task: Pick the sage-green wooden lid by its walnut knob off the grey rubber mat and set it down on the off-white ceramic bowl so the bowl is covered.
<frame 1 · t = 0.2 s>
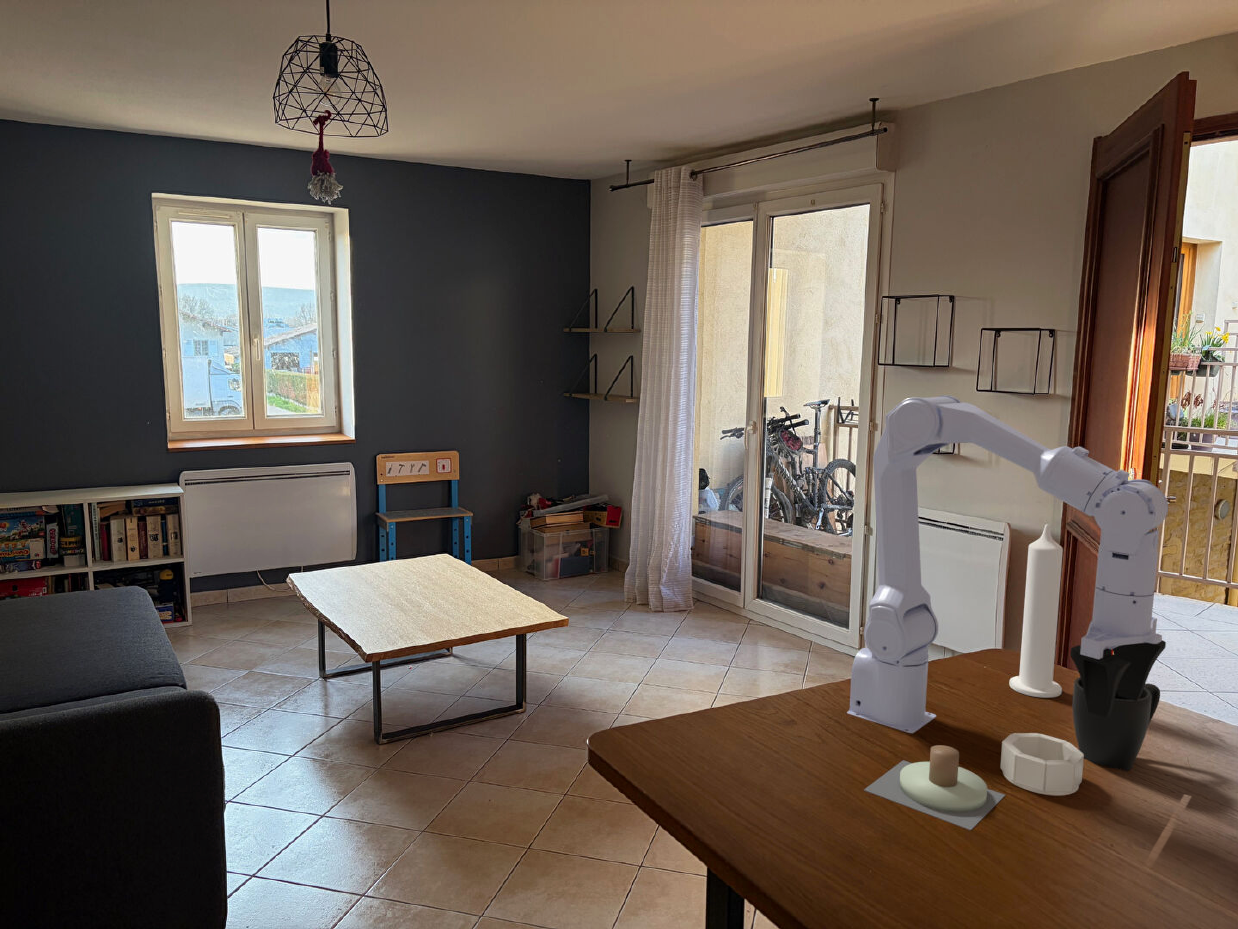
hand: (1113, 705, 99), 10 cm above the table, fingers open, 7 cm apart
bowl: (1039, 782, 102), on the table
mat: (934, 797, 98), on the table
lid: (942, 790, 98), point 1 cm above the table, touching mat
mug: (1117, 761, 108), on the table
candle: (1035, 690, 130), on the table
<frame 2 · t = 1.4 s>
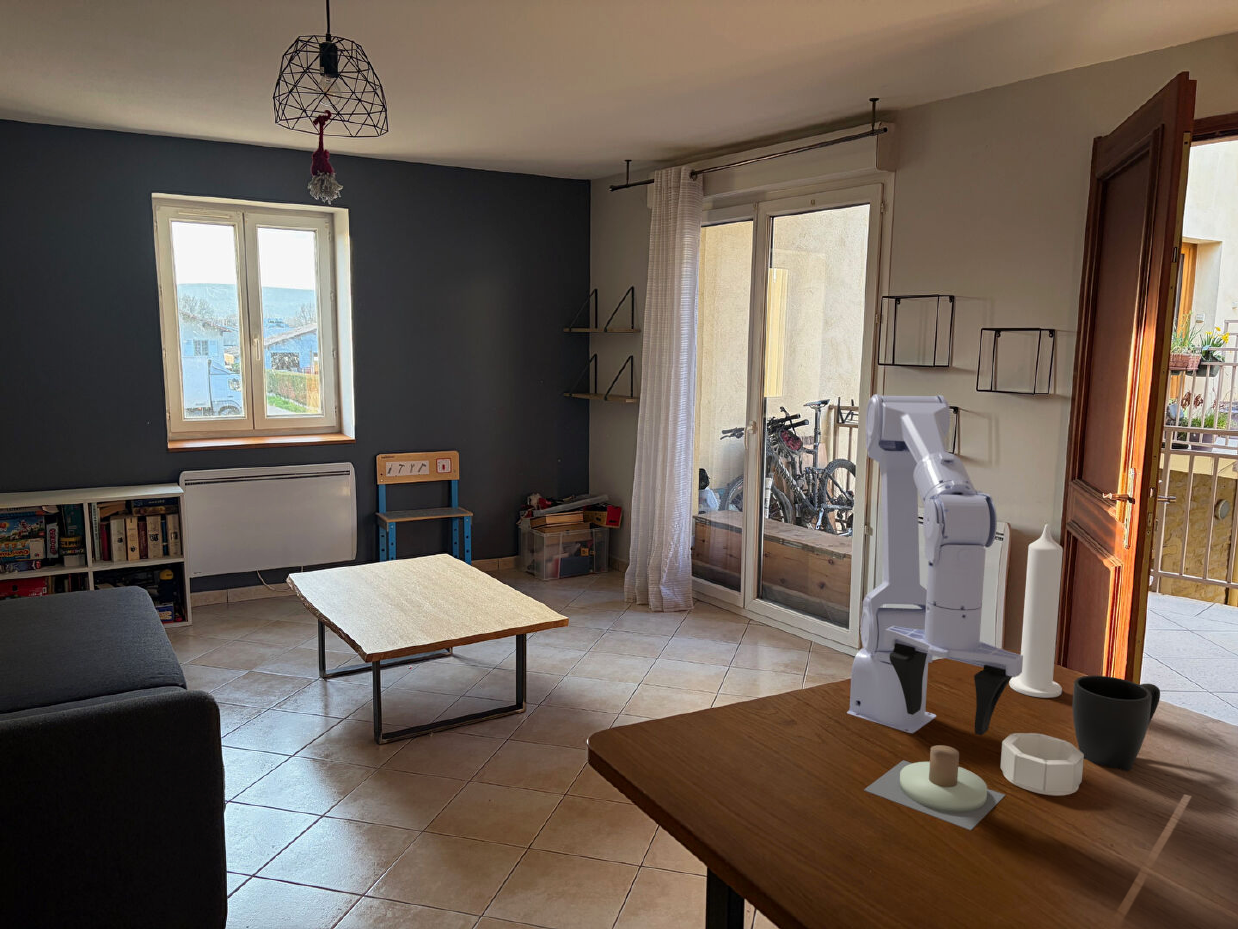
hand: (946, 721, 97), 9 cm above the table, fingers open, 7 cm apart
nothing on the table moved.
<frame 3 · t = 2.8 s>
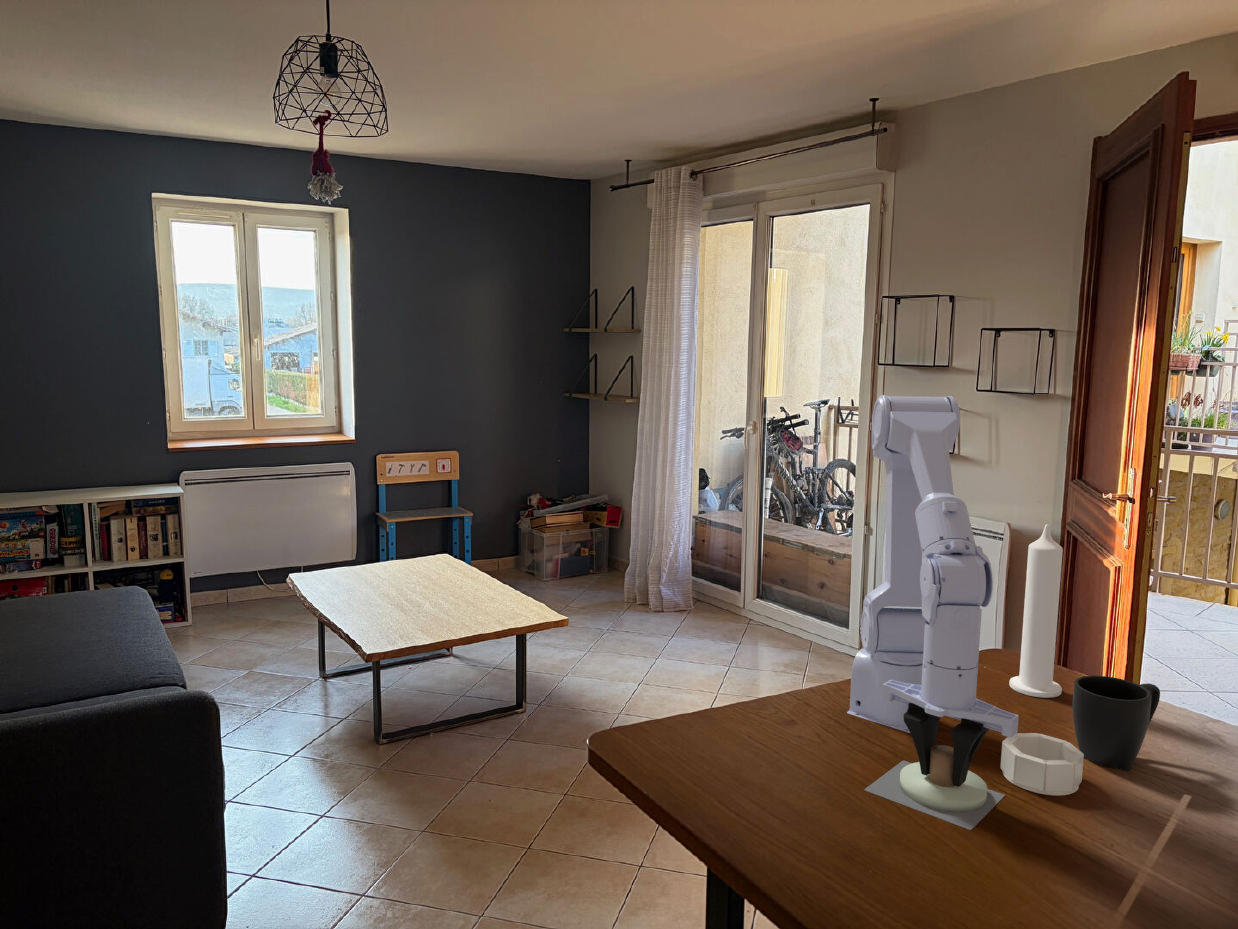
hand: (943, 777, 98), 2 cm above the table, fingers closed on lid, 3 cm apart
lid: (942, 790, 98), point 1 cm above the table, touching gripper, mat
everything else where it was.
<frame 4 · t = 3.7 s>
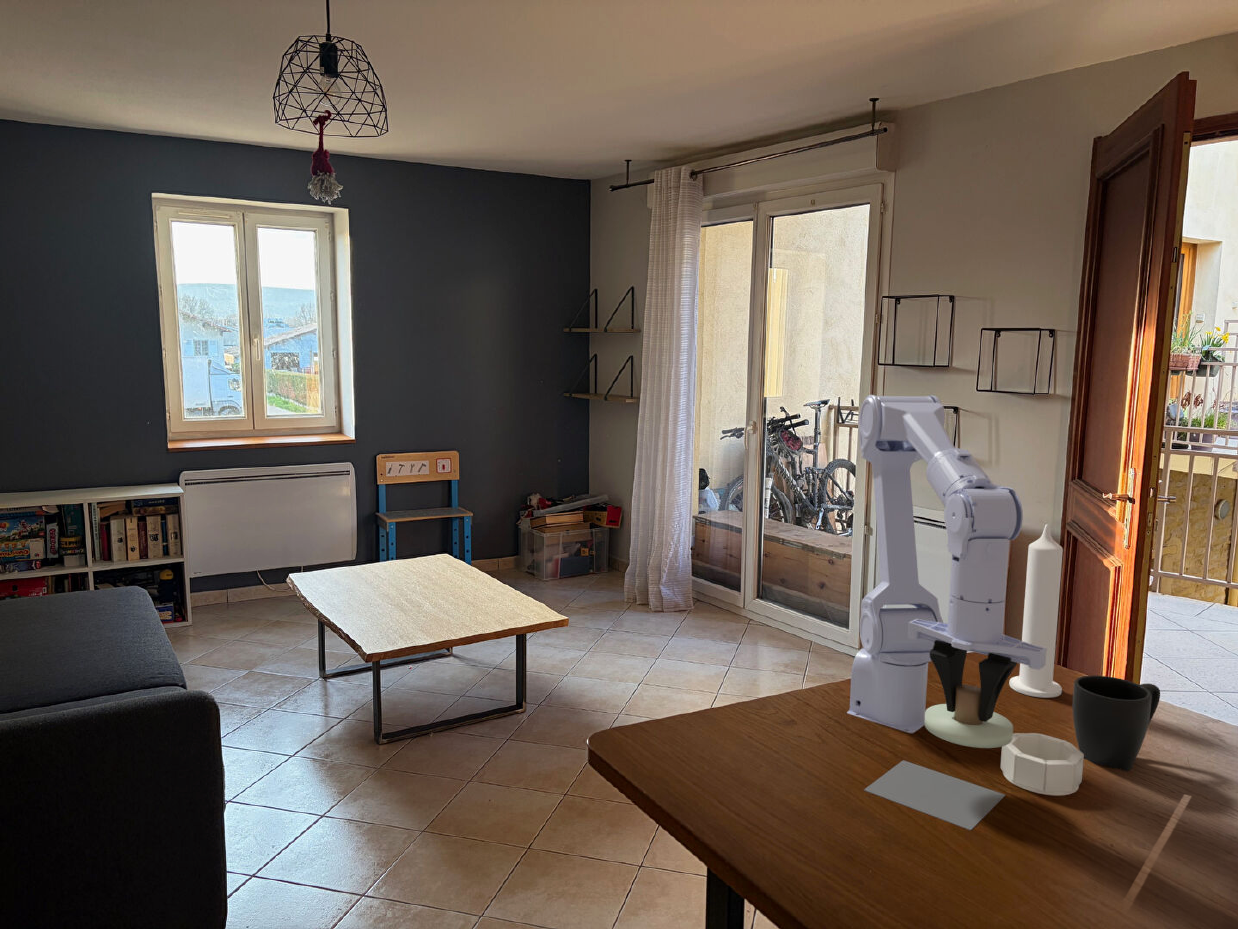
hand: (969, 713, 98), 9 cm above the table, fingers closed on lid, 3 cm apart
lid: (967, 730, 98), point 8 cm above the table, touching gripper
everything else where it was.
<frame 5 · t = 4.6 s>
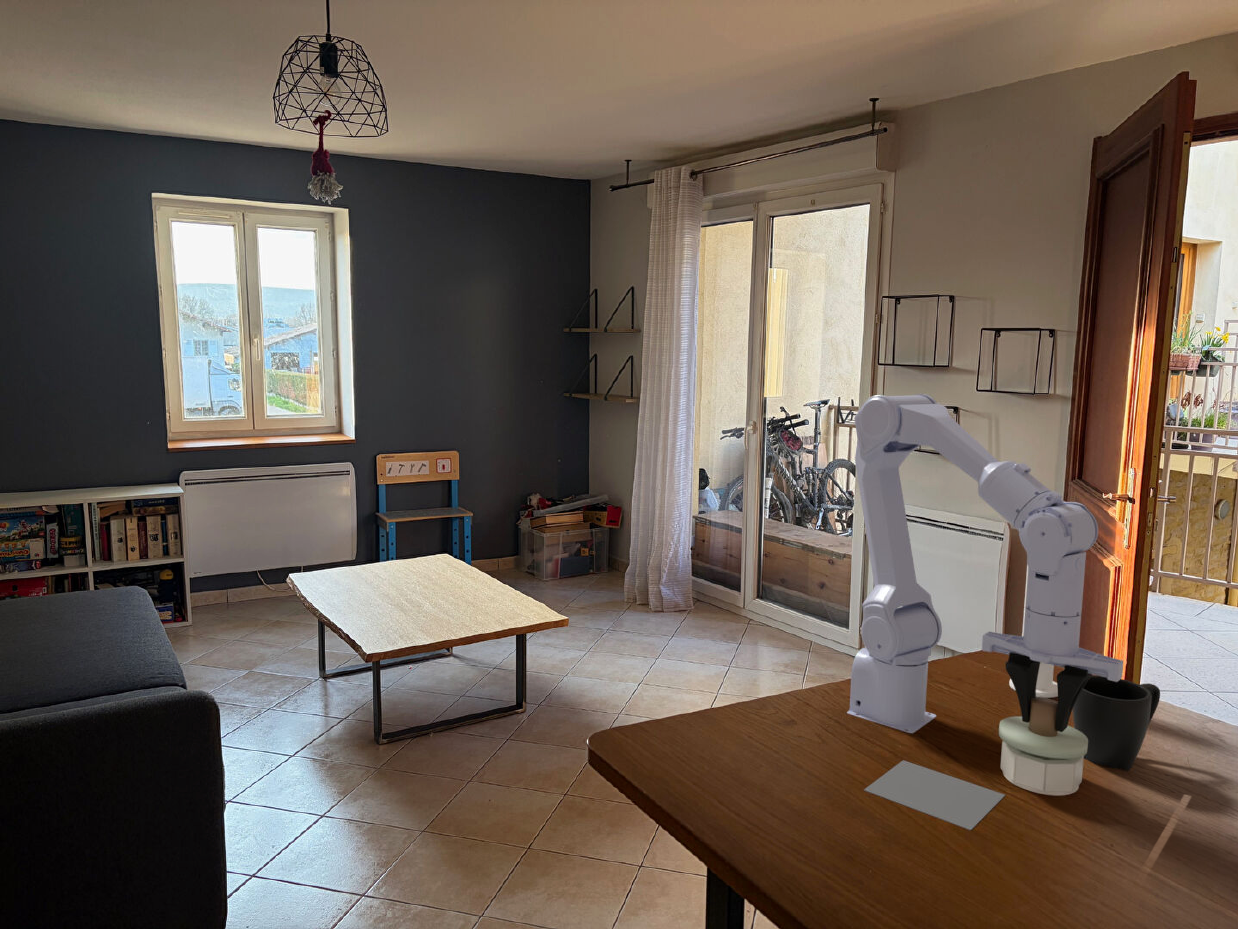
hand: (1044, 724, 101), 7 cm above the table, fingers closed on lid, 3 cm apart
lid: (1042, 741, 101), point 5 cm above the table, touching gripper
everything else where it was.
when the fingers open (7 cm above the table, at t = 5.0 s): lid stays where it is, resting on bowl.
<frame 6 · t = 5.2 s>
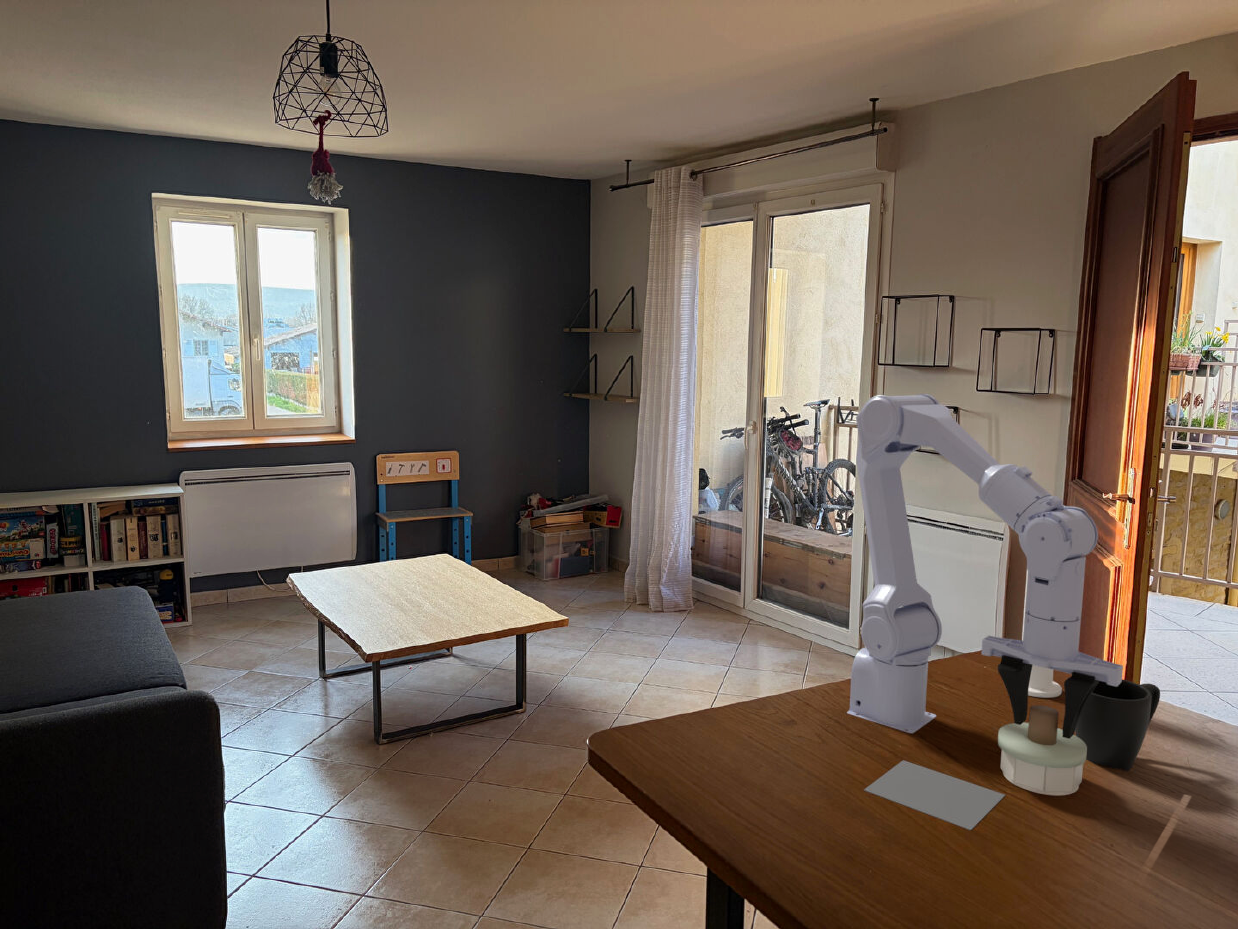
hand: (1043, 728, 101), 7 cm above the table, fingers open, 5 cm apart
lid: (1041, 749, 101), point 4 cm above the table, touching bowl
everything else where it was.
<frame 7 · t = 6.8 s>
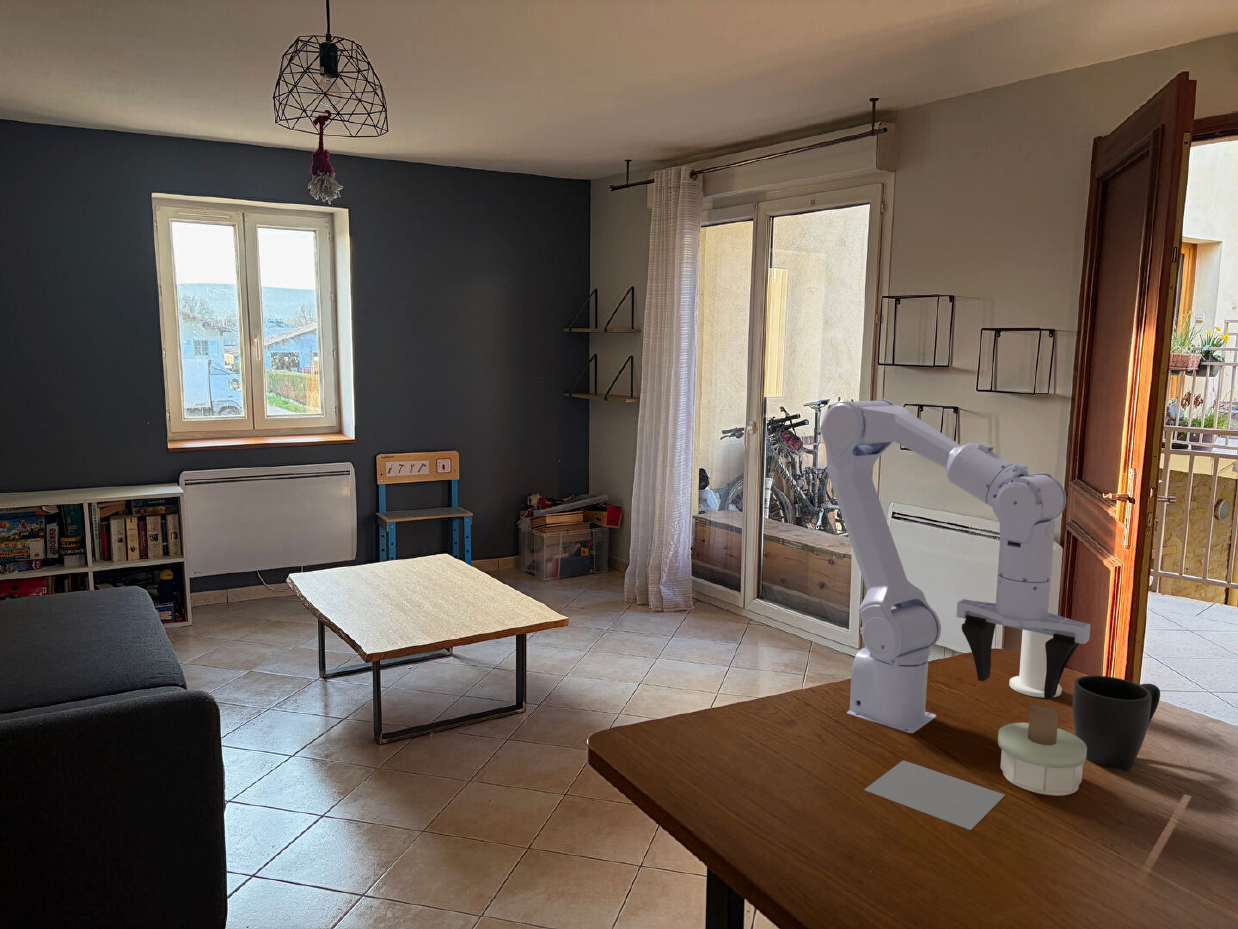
hand: (1015, 687, 105), 10 cm above the table, fingers open, 7 cm apart
nothing on the table moved.
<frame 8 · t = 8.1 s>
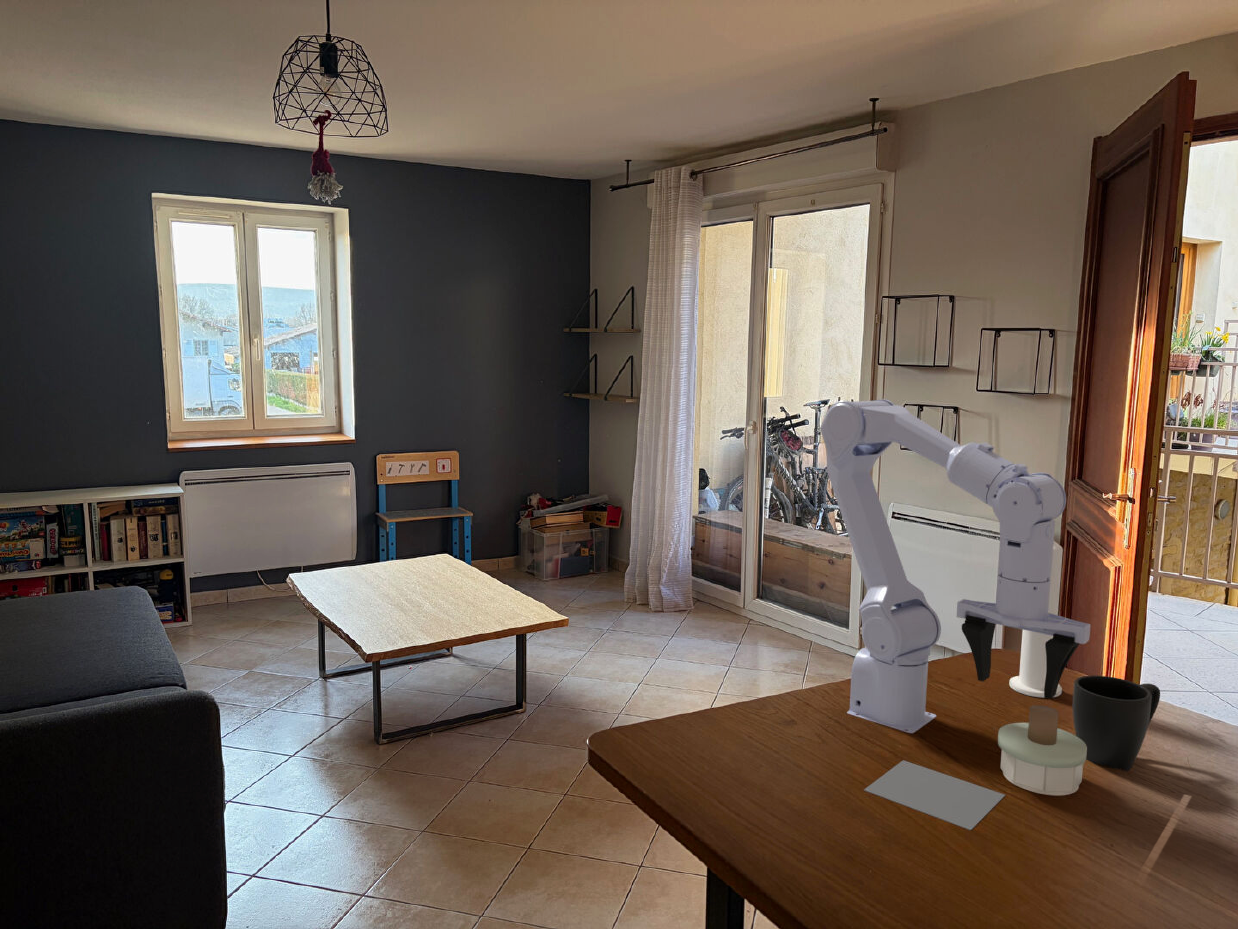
hand: (1015, 687, 105), 10 cm above the table, fingers open, 7 cm apart
nothing on the table moved.
at the end: lid 0.4 cm from the bowl (horizontally); lid point 4.2 cm above the table; lid tilted 0° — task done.
